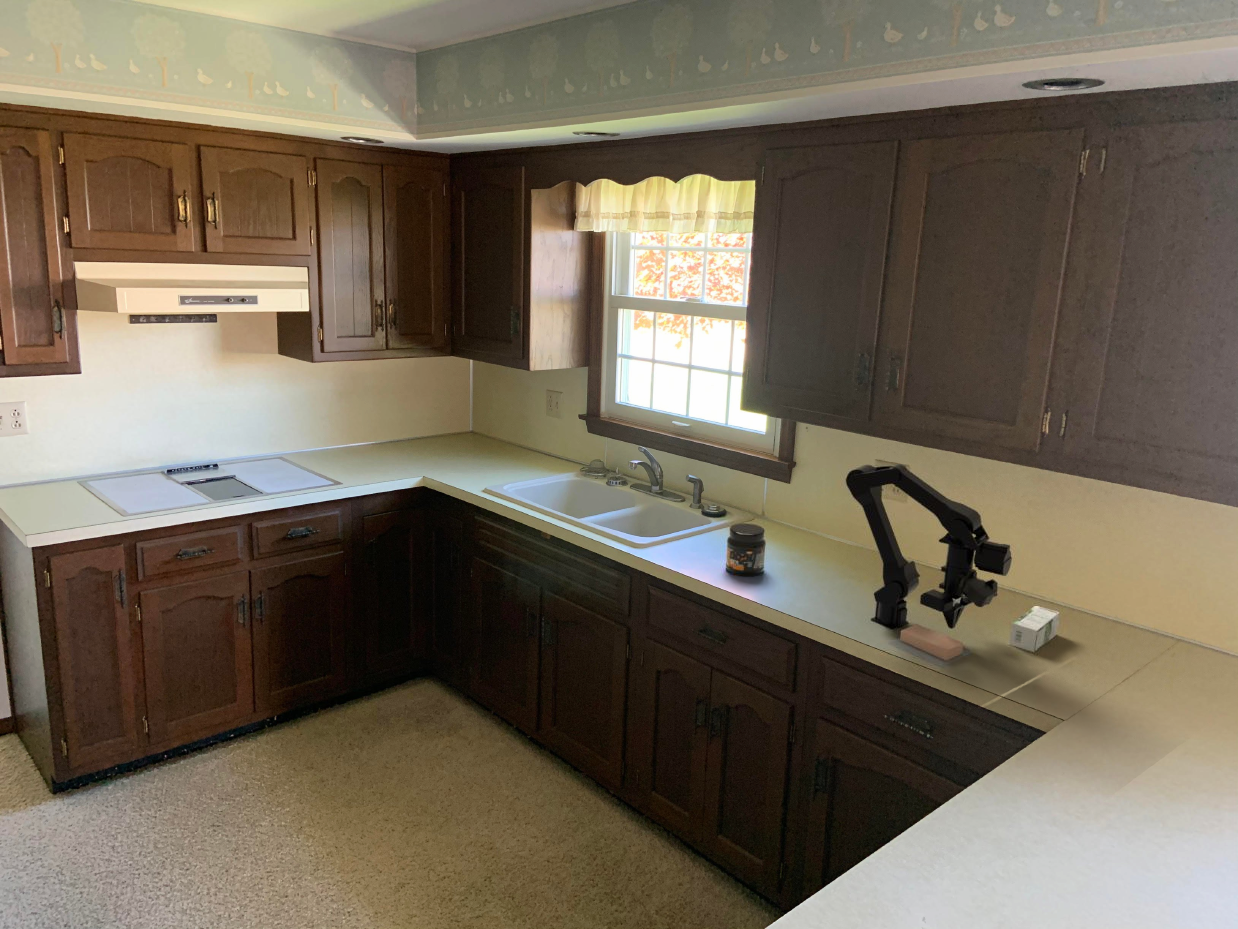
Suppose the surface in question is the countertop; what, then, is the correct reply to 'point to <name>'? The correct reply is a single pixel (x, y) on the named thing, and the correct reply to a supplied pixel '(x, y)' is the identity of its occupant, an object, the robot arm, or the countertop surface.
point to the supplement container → (745, 549)
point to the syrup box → (1034, 628)
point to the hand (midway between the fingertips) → (951, 627)
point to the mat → (927, 655)
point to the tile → (931, 642)
